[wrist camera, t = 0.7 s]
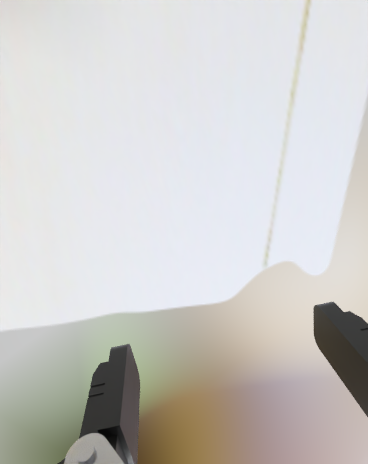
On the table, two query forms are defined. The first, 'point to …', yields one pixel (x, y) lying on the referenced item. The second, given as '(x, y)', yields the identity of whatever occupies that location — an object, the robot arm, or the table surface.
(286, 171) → the table surface
